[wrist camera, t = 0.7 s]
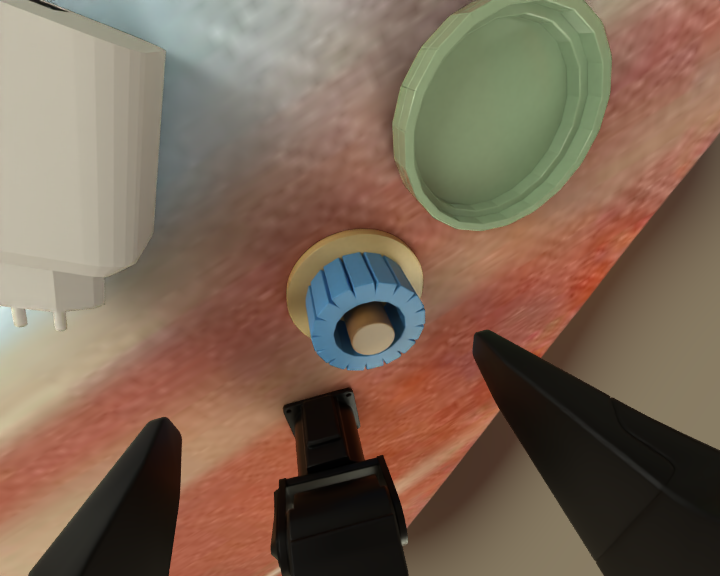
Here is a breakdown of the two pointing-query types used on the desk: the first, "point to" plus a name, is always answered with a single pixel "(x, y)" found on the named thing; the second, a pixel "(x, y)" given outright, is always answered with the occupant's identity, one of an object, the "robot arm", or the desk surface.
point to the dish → (501, 109)
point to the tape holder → (364, 320)
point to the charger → (73, 156)
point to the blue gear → (354, 287)
